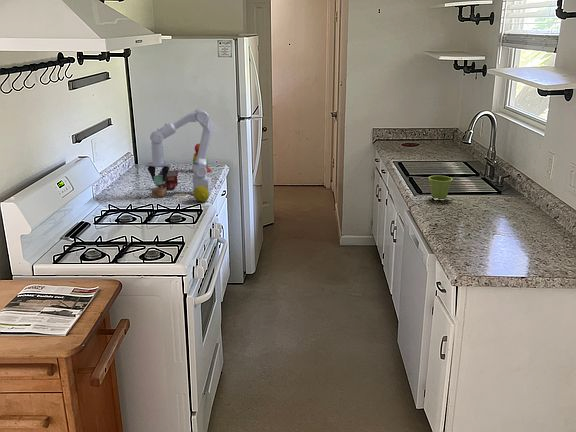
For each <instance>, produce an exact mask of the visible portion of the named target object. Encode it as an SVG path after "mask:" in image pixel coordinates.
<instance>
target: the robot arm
mask: <svg viewBox="0 0 576 432" xmlns="http://www.w3.org/2000/svg"><path fill="white" fill-rule="evenodd" d="M211 119H212V118H211V116H210V115H209V114H208V112H206V111H205V110H203V109H201V108H197V109H195V110H192V111H190V112H189V113H187V114H186V115H184V116H183V117H181V118H179V119H178V120H177V121H175V122H173V123H170V122H169V123H168V122H167V123H164V126H162V127H160V128H157V129H156V131H155V130H154V131H151V134H150V135H149V139H150V140H151V142H150V143H151V146H150V147H151V159H152V161H151V162H144V163H143V164H144V168H147V171H148V172H149V174H150V177H151V180H152V181H153V182H154V176H156V168H161V170H162V173H163V181H166V177H167V173H168V171H170V169H171V168H173V163H170V162H165V160H164V159H165V157H164V146H163V141H164V140H166V139H167V138H169V137H171V136H173V135H174V134H176V130H178V129H180V127H181V128H182V127H183V126H185V125H186V124H188V123H197V122H198V123H199V124H200V126H201V127H202V133H201V137H200V138H201V139H200V146H199V151H198V156H197V158H196V160H195V163H194V165H193V164H192V167H191V171H192V172H193V175H192V184H193V186H192V187H193V191H192V192H191V193H190V195H194V190H195V188H196V187H198V186H204V187H206V188H207V189H208V191H209V195H210V194H211V193H212V192H213V188H212V187H213V186H212V177H210V176H207V173H208V172H207V169H206V165H207V163H206V159H207V158H208V155H209V148H210V144H211V140H212V136H213V135H212V134H213V131H214V125H213V122H212V120H211Z"/></svg>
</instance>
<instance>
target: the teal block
mask: <svg viewBox="0 0 576 432" xmlns="http://www.w3.org/2000/svg"><path fill="white" fill-rule="evenodd" d="M164 183H165V181H163V175H158V174H155V176H154V181H153V184H154V185H156V184H158V185H160V184H164Z"/></svg>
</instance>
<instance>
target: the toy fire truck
mask: <svg viewBox="0 0 576 432" xmlns="http://www.w3.org/2000/svg"><path fill="white" fill-rule="evenodd" d="M157 175H163V173H162V169H161V170H160V171H159V173H158V174H157ZM178 176H179V171H178V170H169V171H168V173H167V177H166V181H165V183H164V184H160V185H158V184H155V186H156V188H167V189H168V190H170V191H174V189H175V188H176V187H178V185H179V181H178Z"/></svg>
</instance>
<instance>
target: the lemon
mask: <svg viewBox="0 0 576 432" xmlns="http://www.w3.org/2000/svg"><path fill="white" fill-rule="evenodd" d="M193 191H194V194H193V198H194V199H195V200H196V201H198V202H201V203H205V202H207V201H208V199H209V198H210V194H209V191H208V189H207V188H206V187H204V186H198V187H196V188H195V190H194V189H193Z"/></svg>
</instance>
